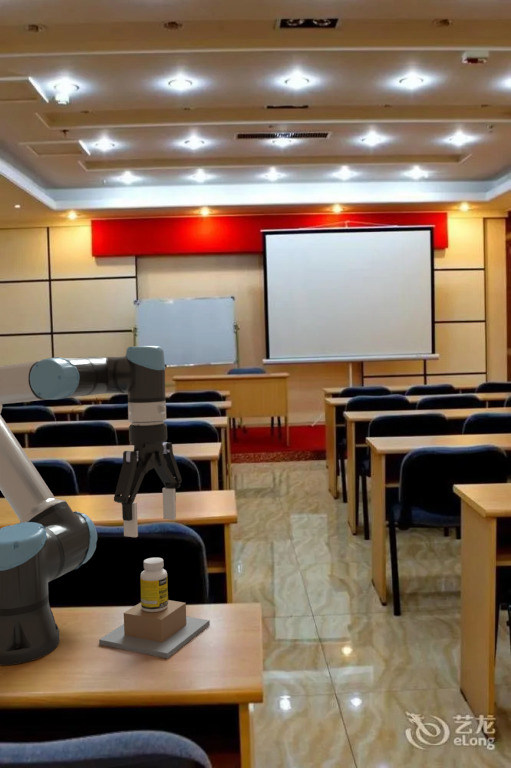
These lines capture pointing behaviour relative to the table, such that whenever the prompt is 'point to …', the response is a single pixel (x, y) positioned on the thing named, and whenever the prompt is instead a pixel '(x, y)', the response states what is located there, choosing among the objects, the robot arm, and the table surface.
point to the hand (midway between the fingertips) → (151, 527)
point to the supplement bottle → (154, 586)
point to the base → (153, 645)
